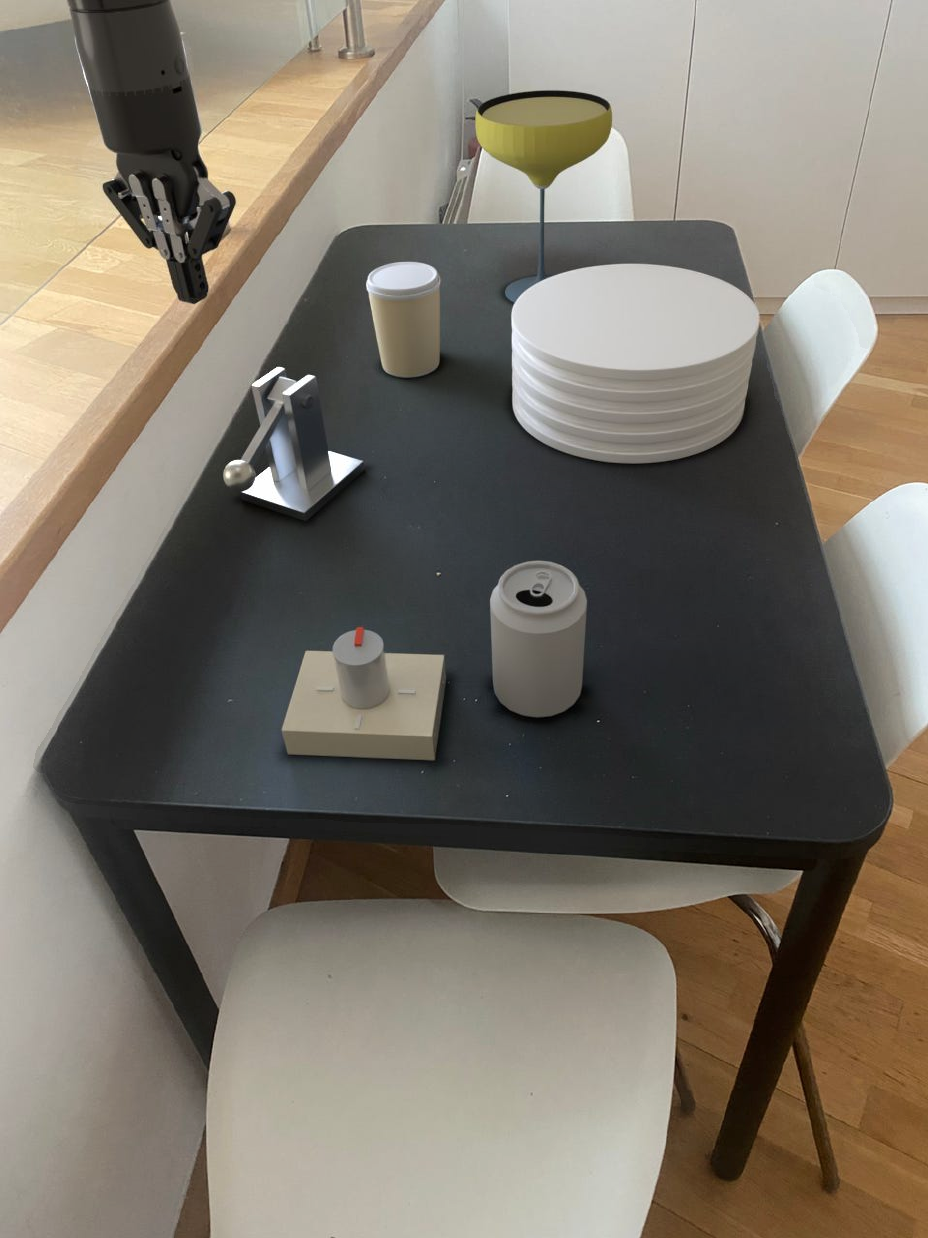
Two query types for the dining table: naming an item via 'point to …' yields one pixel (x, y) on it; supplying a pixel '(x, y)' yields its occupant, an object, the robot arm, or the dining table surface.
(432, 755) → the panel
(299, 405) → the tap bracket
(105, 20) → the robot arm
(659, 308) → the plate stack
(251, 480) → the tap lever
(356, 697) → the dial
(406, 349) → the coffee cup
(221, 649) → the dining table surface
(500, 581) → the can
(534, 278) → the cocktail glass
